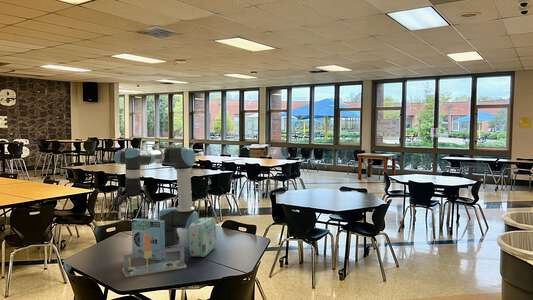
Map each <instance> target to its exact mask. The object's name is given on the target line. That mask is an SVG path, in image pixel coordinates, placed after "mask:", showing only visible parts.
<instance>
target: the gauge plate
mask: <svg viewBox="0 0 533 300" xmlns="http://www.w3.org/2000/svg"><path fill="white" fill-rule="evenodd" d="M187 266H188V265H187V264H186V263H185V262H184V263H182V264H181V263H180V259H177V260H172V261H171V260H169V261H164V262H157V263H151V264H149V263H148V268H146V264H145V265H144V264H143V265H137V266H131V271H129V267H128V272H124V269H123V268H122V269H121V271H122V273H123V275H124V277H125V278H130V277H134V276H136V275H137V276H142V275H149V274H154V273H155V274H156V273H161V272H167V271H173V270H179V269H186V268H187ZM129 276H130V277H129Z"/></svg>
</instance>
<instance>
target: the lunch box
mask: <svg viewBox="0 0 533 300" xmlns="http://www.w3.org/2000/svg"><path fill="white" fill-rule="evenodd" d="M187 237H188V238H187V239H188V250H189V251H188V252H189V256H190V257H203V258H204V257H207V255H209V254H210V253H211V252H212V251H214V249H215V248H216V246H217V224H216V219H215V217H208V218H207V217H206V218H205V217H201V218H199V219H198V220H197V221H195V222H193V223H192V224H191V225H190V226H189V228H188V229H187Z"/></svg>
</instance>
